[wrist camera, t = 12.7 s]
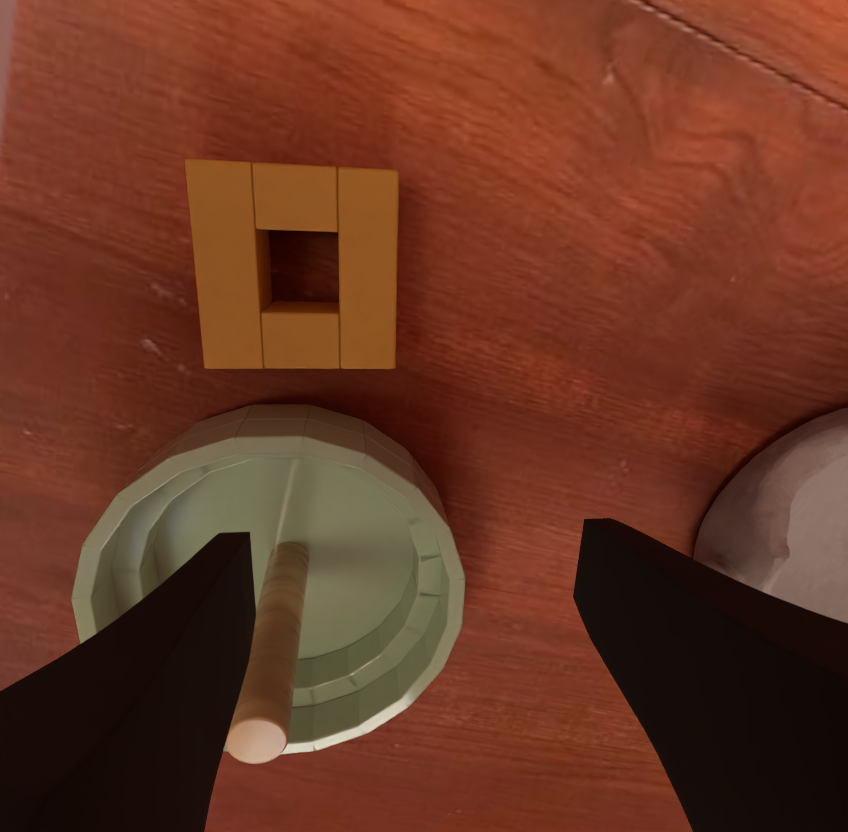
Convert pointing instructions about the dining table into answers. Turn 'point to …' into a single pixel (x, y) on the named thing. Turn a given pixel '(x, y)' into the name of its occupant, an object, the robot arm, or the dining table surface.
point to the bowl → (309, 527)
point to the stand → (251, 270)
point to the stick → (271, 660)
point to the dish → (788, 519)
